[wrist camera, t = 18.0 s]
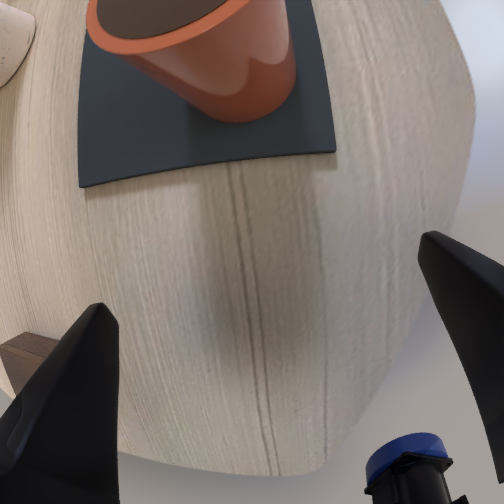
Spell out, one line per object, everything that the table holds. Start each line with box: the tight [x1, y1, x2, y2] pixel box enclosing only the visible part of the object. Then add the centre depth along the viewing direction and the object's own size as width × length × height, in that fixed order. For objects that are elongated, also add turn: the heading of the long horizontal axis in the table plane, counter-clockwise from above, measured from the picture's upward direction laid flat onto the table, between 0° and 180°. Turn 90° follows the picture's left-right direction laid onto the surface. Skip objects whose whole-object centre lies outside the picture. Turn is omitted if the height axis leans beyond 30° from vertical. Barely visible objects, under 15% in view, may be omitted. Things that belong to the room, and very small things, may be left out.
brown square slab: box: [0, 332, 59, 396], centre depth 20 cm, size 8×8×4 cm
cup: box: [86, 0, 297, 123], centre depth 10 cm, size 6×6×9 cm
